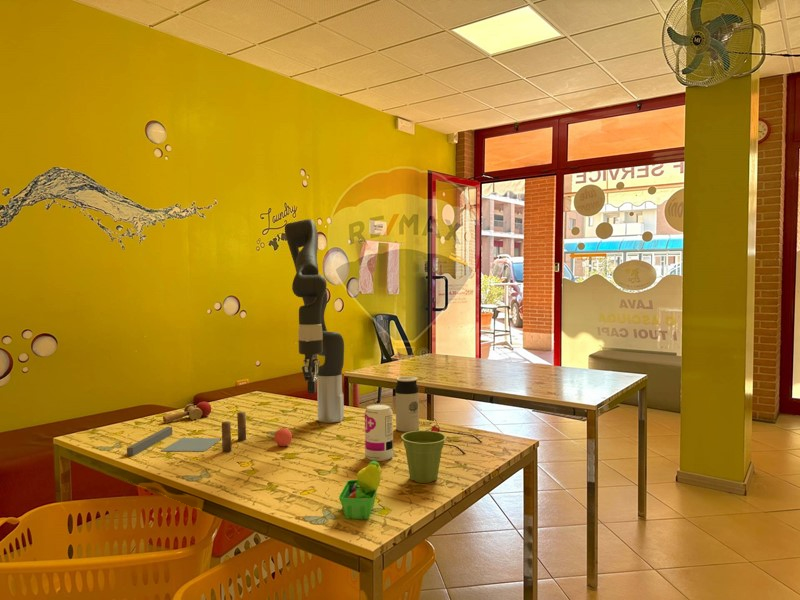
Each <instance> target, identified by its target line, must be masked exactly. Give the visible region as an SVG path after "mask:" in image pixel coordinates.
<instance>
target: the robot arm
mask: <svg viewBox="0 0 800 600" xmlns="http://www.w3.org/2000/svg"><path fill="white" fill-rule="evenodd" d="M284 234H285V239H286V241H287V245H288V248H289V251H290V254H291V258H292V261H293V264H294V268H295V271H296V272H295V275H294V278H293V280H292V285H291V289H292V293H293V294H294V295H295V296H296V297H298V298H301V299H302V301H303V305H300V306H299V308H298V324H299V325H298V332H297V334H298V335H297V336H298V337H297V339H298V354H300V355H304V359H303V365H302V367H301V370H302V373H303V377H304V381H305V382H307V394H308V395H310V394H315V393H316V392H317V421H318V422H320V423H338V422H342V421H343V420H344V418H345V415H344V413H345V411H344V410H345V408H344V406H345V405H344V392H343V375H342V374H343V373H342V372H343V368H344V362H345V341H344V337H343V335H342V334H341V333H339V332H336V331H328V329H327V326H326V321H325V312H326V308H327V305H328V297H329V296H328V291H327V280H326V278H325V277H324V275H322V274H320V273H319V263H318V248H319V246H318V245H319V235H318V229H317V226H316V223H315V222H314V220H313V219H309V218H308V219H303V220H302V219H301V220H298V221H297V220H296V221H294V222H289V223H286V224H285V225H284ZM300 248H301V249H300ZM318 356H322V357H324V363H323V364H322V365H320V364H321V363H320V360H319V358H318ZM316 384H317V385H316ZM316 387H317V388H316Z"/></svg>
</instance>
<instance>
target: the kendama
mask: <svg viewBox="0 0 800 600" xmlns="http://www.w3.org/2000/svg"><path fill="white" fill-rule="evenodd" d="M211 412H212V405H211V404H210V403H209V402H208V401H200V402H198V403H197V404H196V405H194V404H193V403H189V404H186V405H185V407H184V408H183V411H181V412H176V413H171V414H168V415H164V416H163V417H162V420H163V423H164V424H166V423H167V424H169V423H172V422H175V421H176V420H180V419H182V418H184V417H187V416H188V417H189V418H190V419H191V420H192V421H195V420H194V419H198V420H199V419H201V418H205V416H206V417H208V416H210V414H211ZM167 424H166V425H167Z"/></svg>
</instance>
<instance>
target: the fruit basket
mask: <svg viewBox="0 0 800 600" xmlns="http://www.w3.org/2000/svg"><path fill="white" fill-rule="evenodd" d="M381 475H382V468H381V466H380V463H379V461H372V460H371V461H370V462H369V463H368V464H367V466H366V467H363V468H362V469H360V470H359V471H358V472H357V474H356V479H349V480H347V481H346V483H345V485H344V487H343V488H342V490H341V493H339V496H338V500H339V502H340V504H341V508H342V509H343V515H344V517H345V519H348V520H349V519H353V520H359V519H360V520H363V519H365V520H369V519H370V515H371V513H372V510H373V507H374V504H375V500H376V496H377V492H378V488H379V486H380V484H381Z"/></svg>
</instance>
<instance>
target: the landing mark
mask: <svg viewBox="0 0 800 600" xmlns="http://www.w3.org/2000/svg"><path fill="white" fill-rule="evenodd" d="M221 438H222V437H221ZM221 438H219V437H217V438H216V437H181V438H179V439H178V440H176V441H174V442H173V443H171V444H169V445H168V446H166V447H164V448H163V449H161V450H160V452H180V451H192V452H191V453H194V451H195V453H205V452H206V451H208V450H209V449H210V448H212V447H214V445H216V444H217V443H219V442H220V441H221V440H220V439H221ZM219 440H220V441H219ZM218 441H219V442H218ZM215 443H216V444H215ZM211 446H212V447H211ZM204 451H205V452H204Z"/></svg>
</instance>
